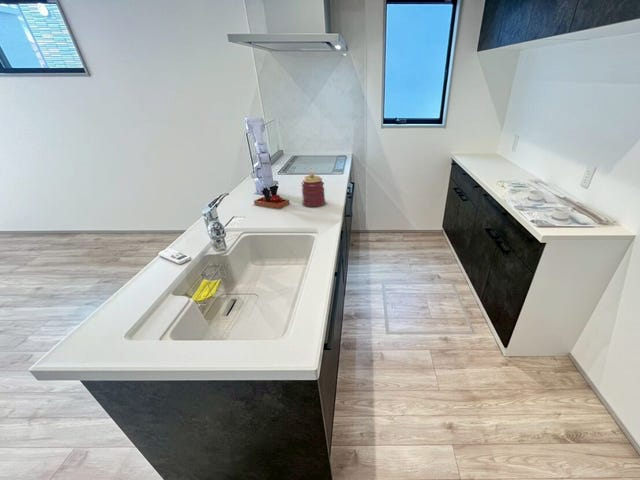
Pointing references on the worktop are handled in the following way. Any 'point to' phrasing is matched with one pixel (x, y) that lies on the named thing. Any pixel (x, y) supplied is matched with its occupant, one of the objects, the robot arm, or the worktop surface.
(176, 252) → the worktop surface
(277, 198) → the vegetable
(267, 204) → the tray
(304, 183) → the kitchen canister
